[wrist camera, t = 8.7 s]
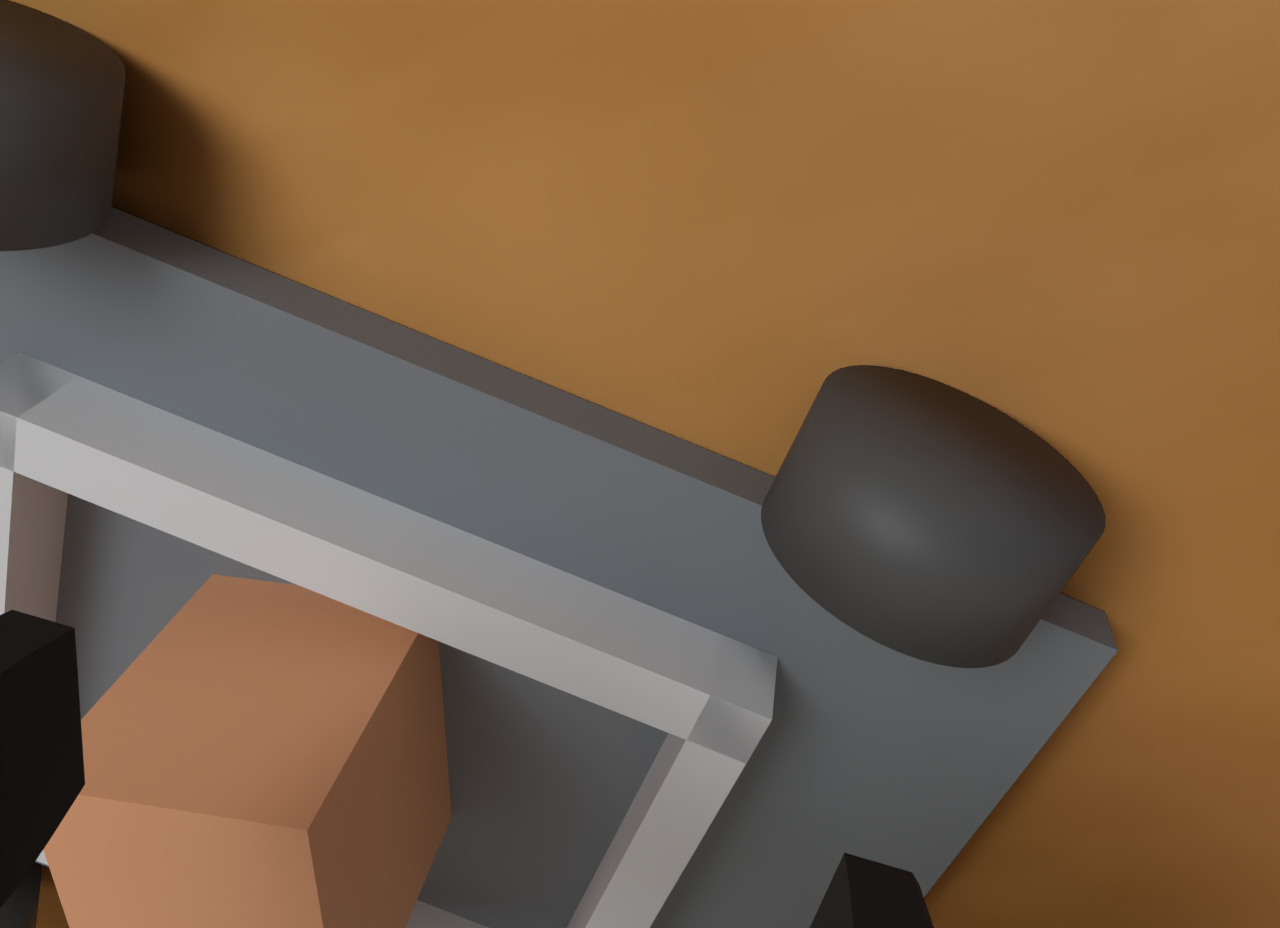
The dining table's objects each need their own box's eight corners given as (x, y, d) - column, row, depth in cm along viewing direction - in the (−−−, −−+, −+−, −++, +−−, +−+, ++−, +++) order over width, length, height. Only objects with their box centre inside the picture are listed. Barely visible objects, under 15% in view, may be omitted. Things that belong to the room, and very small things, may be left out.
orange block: (434, 602, 18) (306, 830, 14) (451, 816, 21) (346, 1068, 16) (211, 574, 19) (21, 785, 14) (253, 786, 21) (101, 1022, 17)
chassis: (1198, 488, 16) (1295, 657, 13) (700, 1143, 26) (678, 1338, 23) (-214, -93, 15) (-519, -84, 12) (-168, 806, 25) (-328, 954, 22)
